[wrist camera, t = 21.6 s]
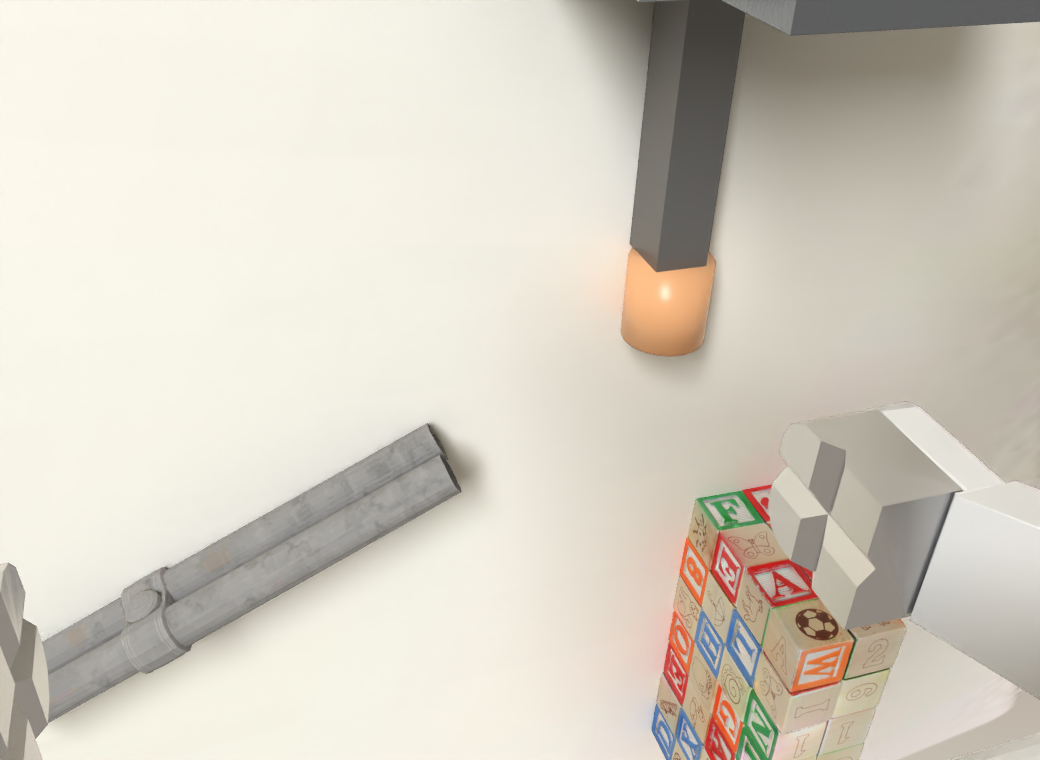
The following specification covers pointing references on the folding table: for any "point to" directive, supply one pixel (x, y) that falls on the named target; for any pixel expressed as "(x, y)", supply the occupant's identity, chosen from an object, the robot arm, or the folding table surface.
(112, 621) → the metal rod assembly
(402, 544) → the folding table surface
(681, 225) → the plug
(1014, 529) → the robot arm
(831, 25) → the grey notched block
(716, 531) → the stack of blocks
